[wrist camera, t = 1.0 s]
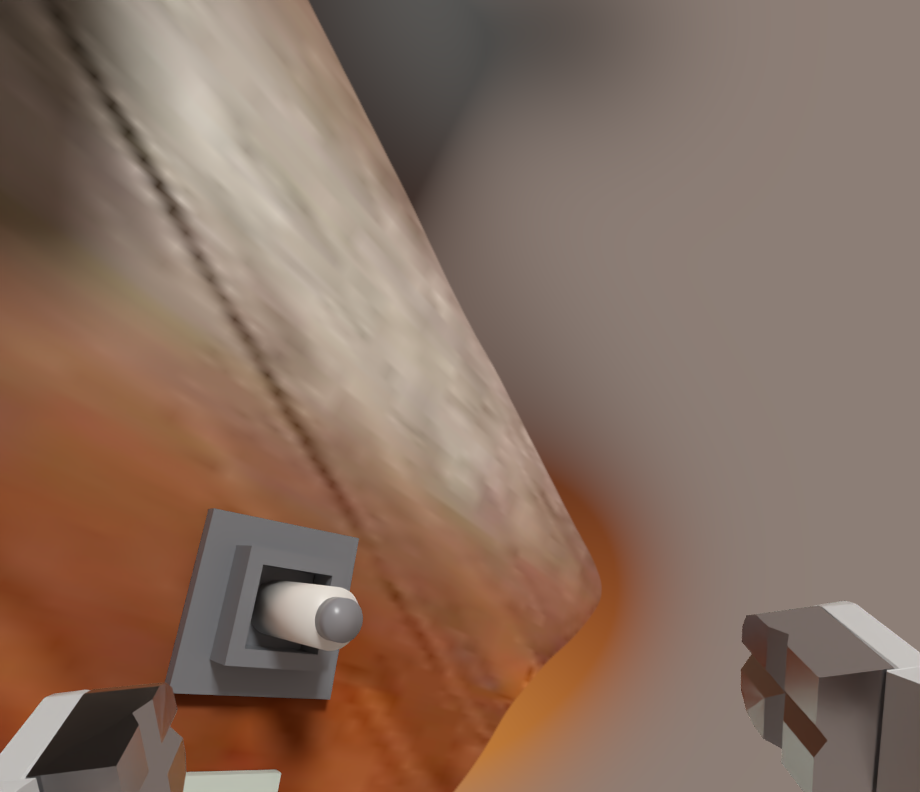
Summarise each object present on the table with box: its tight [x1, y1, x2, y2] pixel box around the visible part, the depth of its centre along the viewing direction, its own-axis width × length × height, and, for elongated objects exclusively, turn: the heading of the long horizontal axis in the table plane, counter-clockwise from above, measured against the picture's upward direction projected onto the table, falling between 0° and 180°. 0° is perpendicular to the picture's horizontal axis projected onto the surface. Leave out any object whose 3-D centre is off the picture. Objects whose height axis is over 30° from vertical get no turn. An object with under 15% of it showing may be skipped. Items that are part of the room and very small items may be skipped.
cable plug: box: [251, 580, 363, 651], centre depth 41 cm, size 4×4×9 cm
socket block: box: [165, 509, 359, 700], centre depth 44 cm, size 11×11×4 cm
